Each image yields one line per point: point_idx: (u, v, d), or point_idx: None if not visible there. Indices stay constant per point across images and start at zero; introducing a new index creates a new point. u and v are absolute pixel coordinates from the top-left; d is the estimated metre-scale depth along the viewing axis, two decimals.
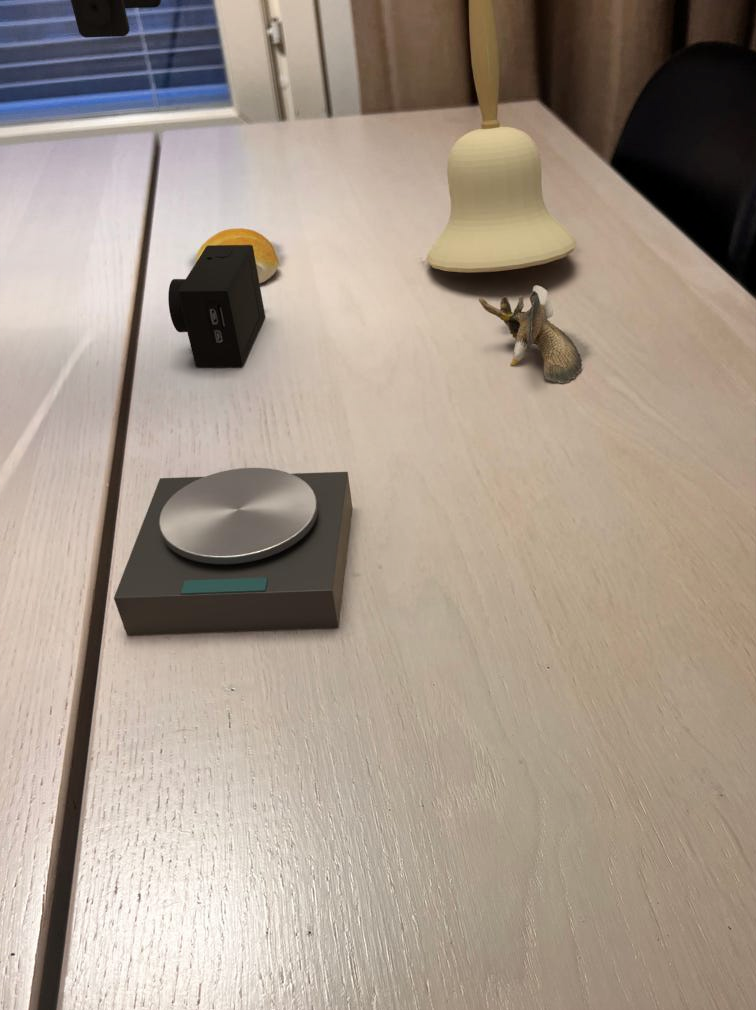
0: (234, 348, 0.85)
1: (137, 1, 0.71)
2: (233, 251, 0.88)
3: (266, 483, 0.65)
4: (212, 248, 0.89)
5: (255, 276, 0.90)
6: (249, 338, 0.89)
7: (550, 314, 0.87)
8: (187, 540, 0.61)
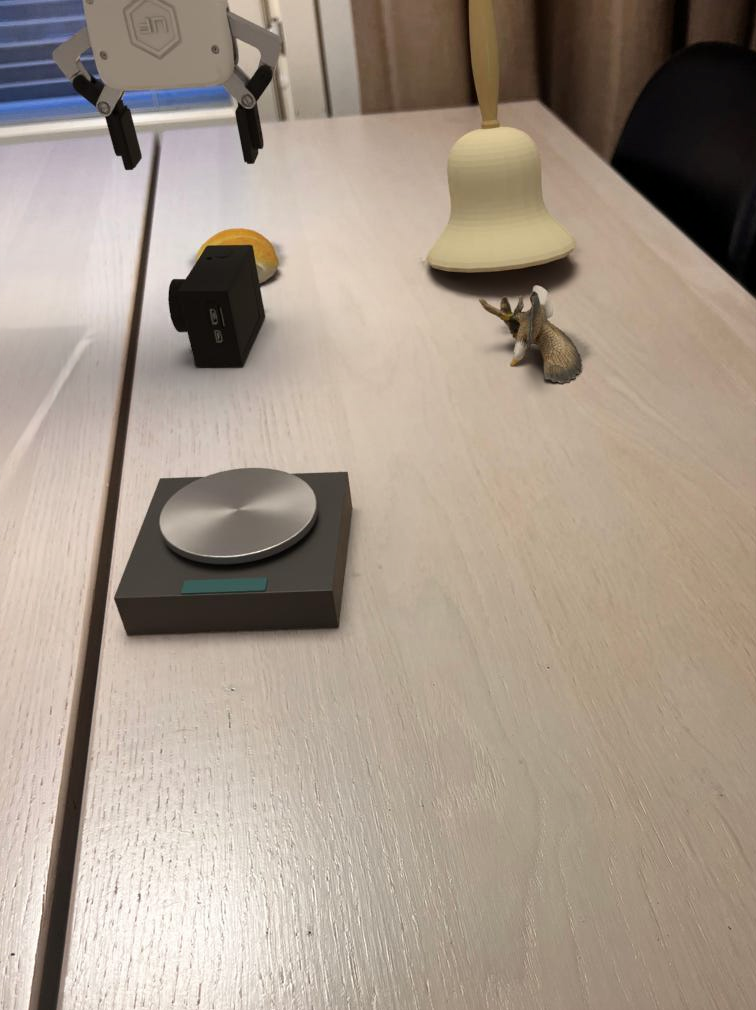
0: (234, 348, 0.85)
1: (137, 159, 0.80)
2: (233, 251, 0.88)
3: (266, 483, 0.65)
4: (212, 248, 0.89)
5: (255, 276, 0.90)
6: (249, 338, 0.89)
7: (550, 314, 0.87)
8: (187, 540, 0.61)
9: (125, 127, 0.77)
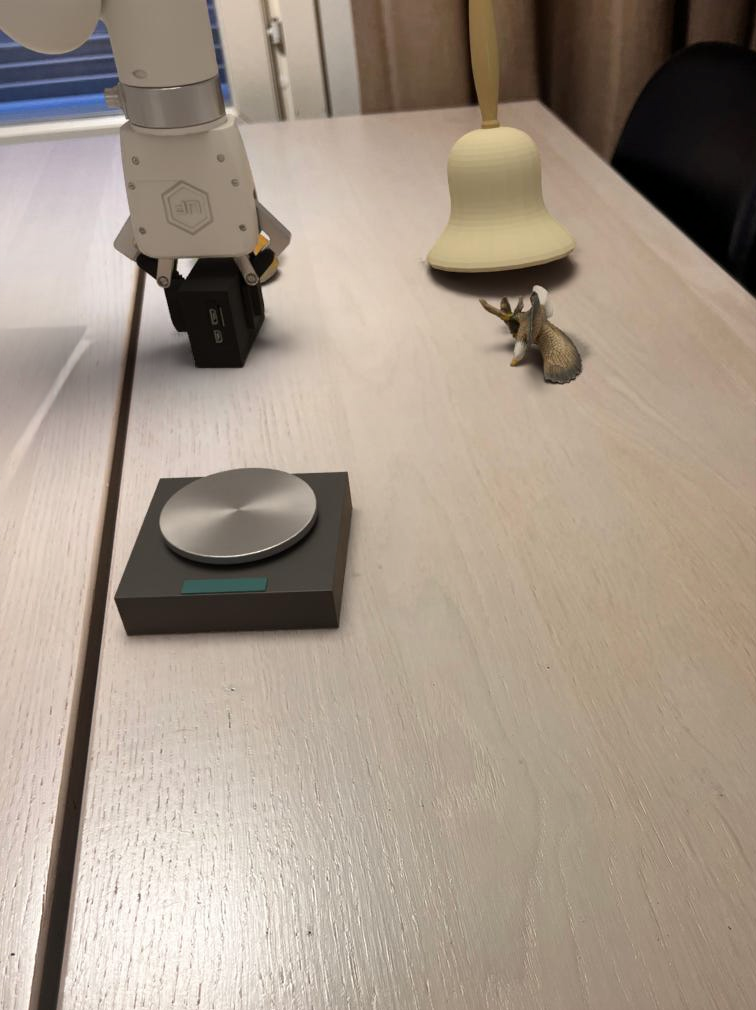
0: (234, 348, 0.85)
1: None
2: None
3: (266, 483, 0.65)
4: None
5: None
6: (249, 338, 0.89)
7: (550, 314, 0.87)
8: (187, 540, 0.61)
9: None
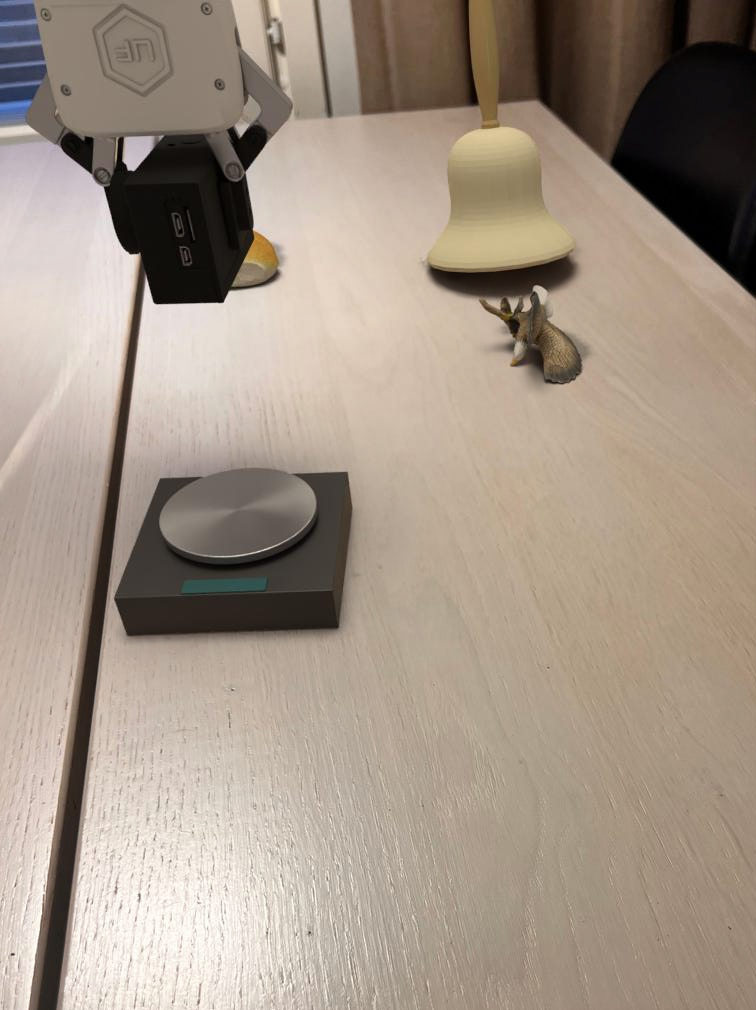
0: (210, 274, 0.57)
1: None
2: None
3: (266, 483, 0.65)
4: None
5: None
6: (232, 263, 0.61)
7: (550, 314, 0.87)
8: (187, 540, 0.61)
9: None
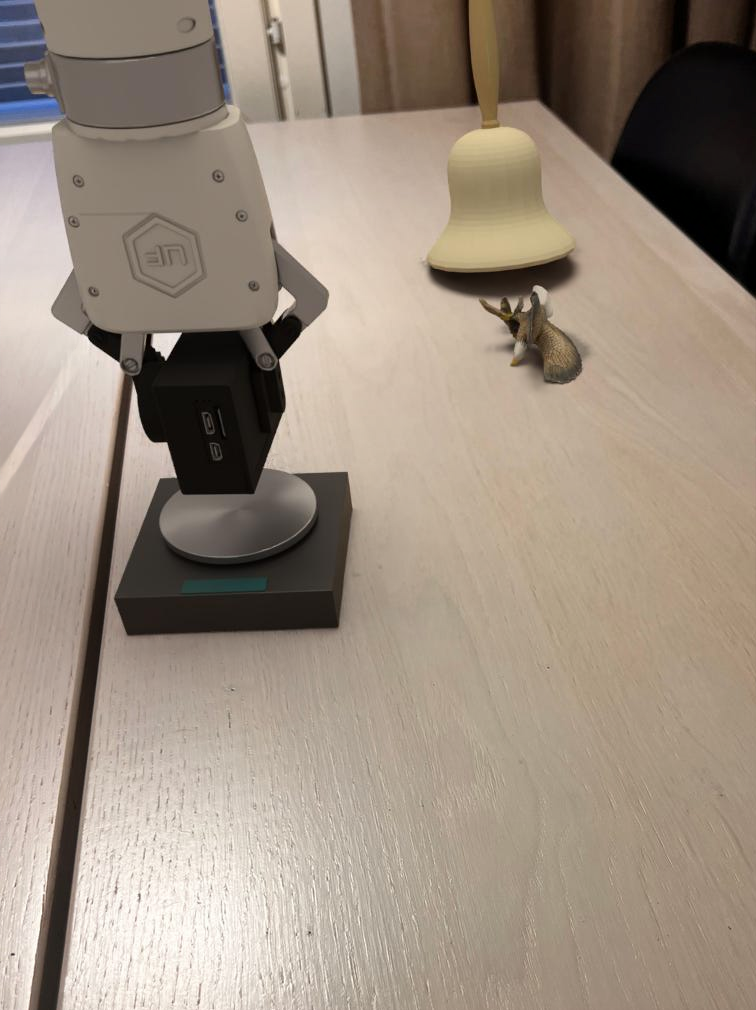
0: (241, 468, 0.55)
1: None
2: None
3: (266, 483, 0.65)
4: None
5: None
6: (263, 446, 0.58)
7: (550, 314, 0.87)
8: (187, 540, 0.61)
9: None
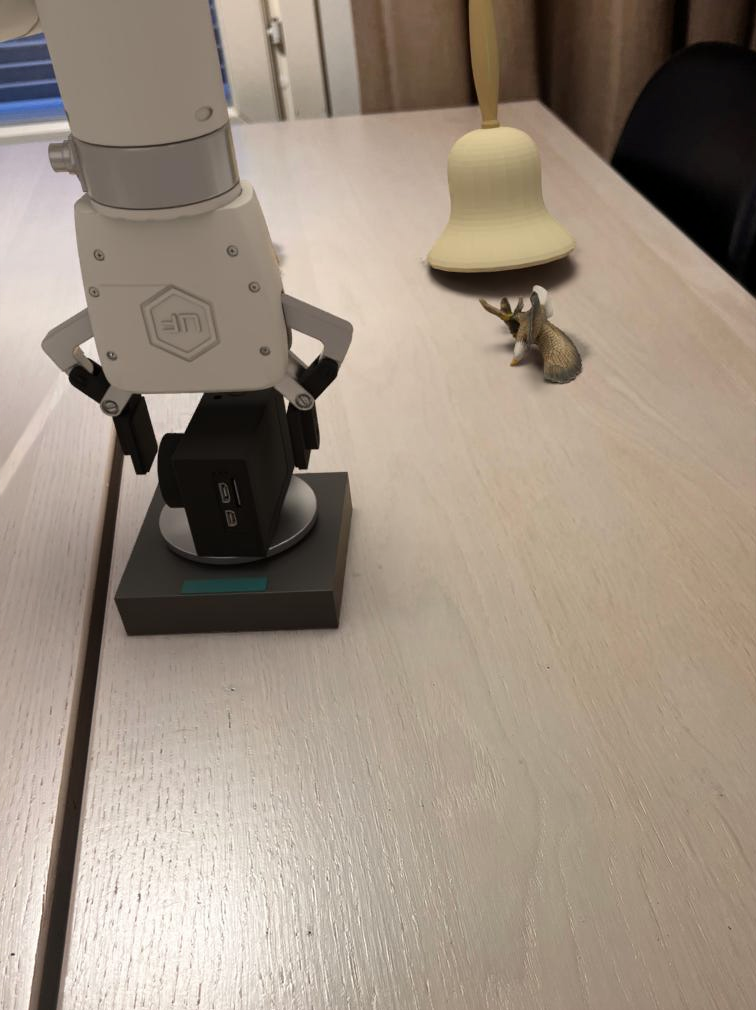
0: (254, 533, 0.58)
1: (152, 456, 0.60)
2: None
3: None
4: None
5: (283, 415, 0.63)
6: (275, 509, 0.61)
7: (550, 314, 0.87)
8: (187, 541, 0.61)
9: (138, 426, 0.58)
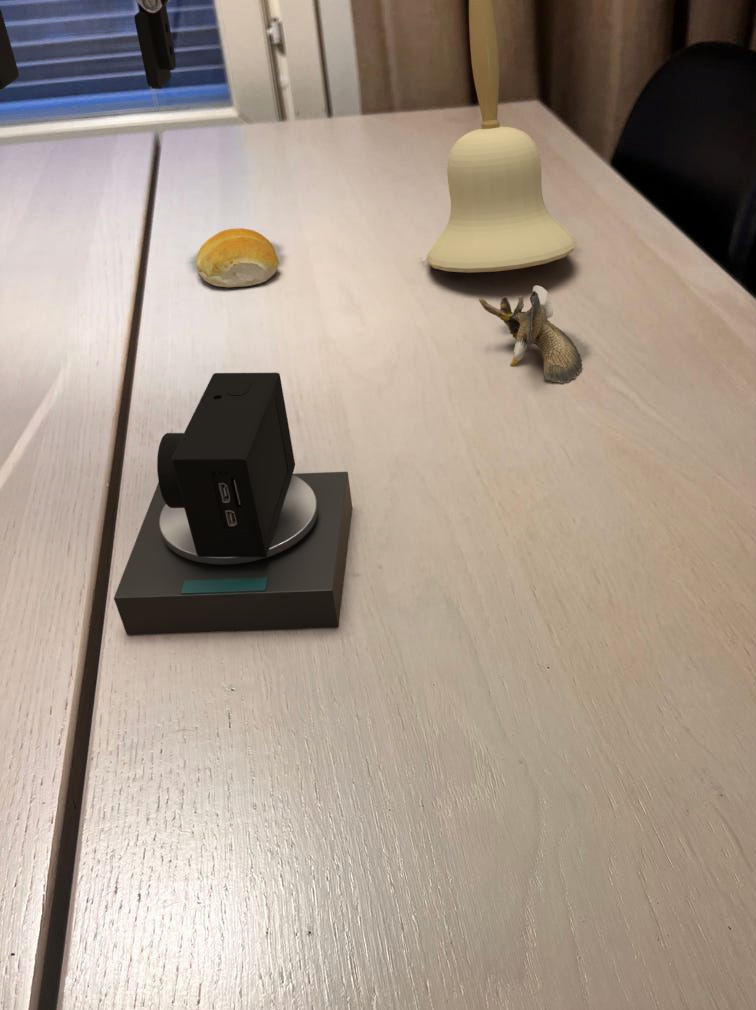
0: (254, 533, 0.58)
1: (10, 76, 0.61)
2: (252, 384, 0.61)
3: None
4: (222, 378, 0.62)
5: (283, 415, 0.63)
6: (275, 509, 0.61)
7: (550, 314, 0.87)
8: (187, 541, 0.61)
9: None
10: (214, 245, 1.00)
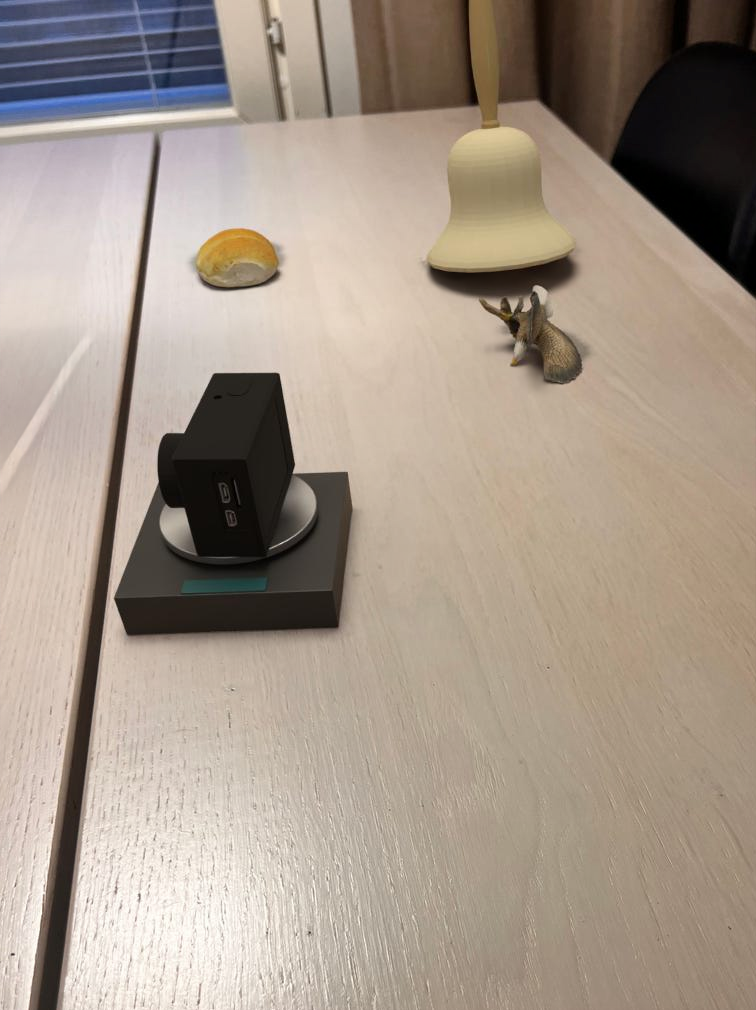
0: (254, 533, 0.58)
1: None
2: (252, 384, 0.61)
3: None
4: (222, 378, 0.62)
5: (283, 415, 0.63)
6: (275, 509, 0.61)
7: (550, 314, 0.87)
8: (187, 541, 0.61)
9: None
10: (214, 245, 1.00)
